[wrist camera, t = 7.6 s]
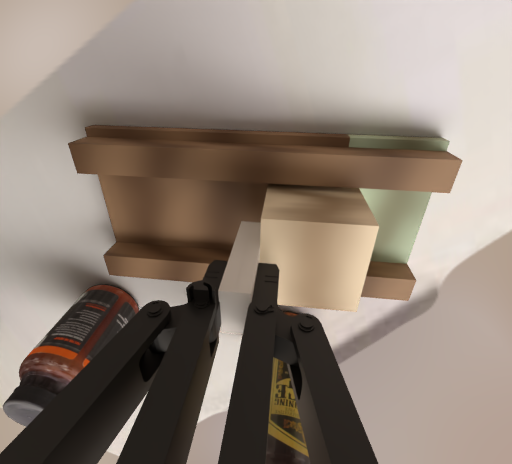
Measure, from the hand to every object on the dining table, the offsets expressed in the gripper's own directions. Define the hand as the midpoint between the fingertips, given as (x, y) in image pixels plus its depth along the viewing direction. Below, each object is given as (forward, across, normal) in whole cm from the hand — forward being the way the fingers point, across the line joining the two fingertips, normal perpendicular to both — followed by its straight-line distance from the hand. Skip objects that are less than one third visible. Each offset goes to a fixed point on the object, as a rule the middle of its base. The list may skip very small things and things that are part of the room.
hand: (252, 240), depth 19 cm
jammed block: (+3, +4, 0) cm, 5 cm away
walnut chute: (+5, 0, 0) cm, 5 cm away
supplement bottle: (+5, -15, -12) cm, 20 cm away
